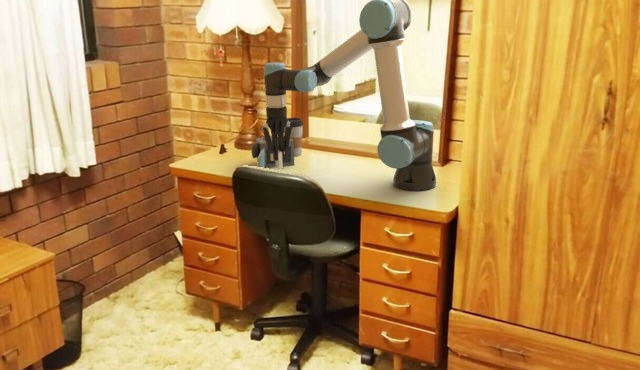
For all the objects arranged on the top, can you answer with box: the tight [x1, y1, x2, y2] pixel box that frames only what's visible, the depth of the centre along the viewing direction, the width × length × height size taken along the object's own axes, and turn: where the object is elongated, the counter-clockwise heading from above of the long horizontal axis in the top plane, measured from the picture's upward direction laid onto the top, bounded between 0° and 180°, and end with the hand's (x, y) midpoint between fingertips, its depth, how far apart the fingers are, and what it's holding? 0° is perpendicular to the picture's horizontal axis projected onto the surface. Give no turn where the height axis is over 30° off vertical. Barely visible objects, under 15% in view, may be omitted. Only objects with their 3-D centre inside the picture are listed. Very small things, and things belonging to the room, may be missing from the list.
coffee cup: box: [284, 117, 304, 158], centre depth 261 cm, size 8×8×15 cm
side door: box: [256, 148, 265, 168], centre depth 237 cm, size 12×2×7 cm, turn 178°
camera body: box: [250, 136, 295, 169], centre depth 248 cm, size 9×16×11 cm, turn 108°
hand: (279, 168), depth 235 cm, fingers closed
